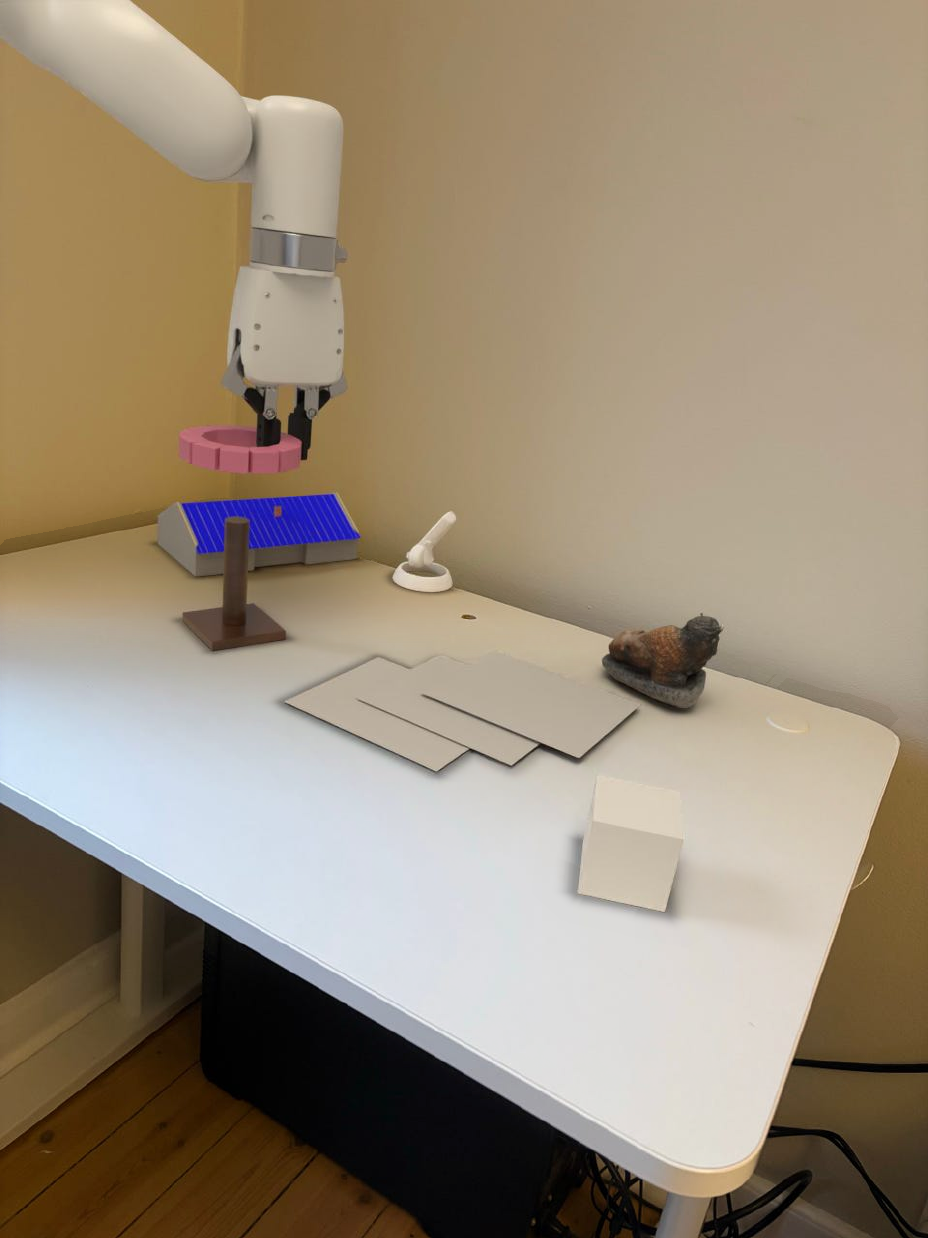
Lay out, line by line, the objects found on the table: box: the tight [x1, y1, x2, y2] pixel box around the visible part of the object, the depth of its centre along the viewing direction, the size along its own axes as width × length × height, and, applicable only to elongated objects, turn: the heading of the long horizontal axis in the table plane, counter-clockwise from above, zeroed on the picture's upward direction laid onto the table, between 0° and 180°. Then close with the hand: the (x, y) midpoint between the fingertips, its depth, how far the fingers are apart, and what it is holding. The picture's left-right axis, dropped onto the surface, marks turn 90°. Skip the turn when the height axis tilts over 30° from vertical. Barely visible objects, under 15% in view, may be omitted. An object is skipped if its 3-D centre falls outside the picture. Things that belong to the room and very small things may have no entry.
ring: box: [178, 424, 302, 475], centre depth 86 cm, size 11×11×2 cm
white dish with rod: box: [392, 510, 457, 593], centre depth 114 cm, size 8×12×7 cm
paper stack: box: [284, 650, 642, 772], centre depth 86 cm, size 23×25×1 cm
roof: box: [156, 491, 361, 578], centre depth 118 cm, size 22×14×7 cm, turn 127°
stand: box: [181, 516, 287, 652], centre depth 94 cm, size 8×8×12 cm
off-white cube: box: [577, 774, 685, 913], centre depth 64 cm, size 6×6×6 cm
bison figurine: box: [601, 612, 725, 709], centre depth 93 cm, size 12×7×10 cm, turn 41°
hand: (283, 455), depth 89 cm, fingers closed on ring, 2 cm apart
